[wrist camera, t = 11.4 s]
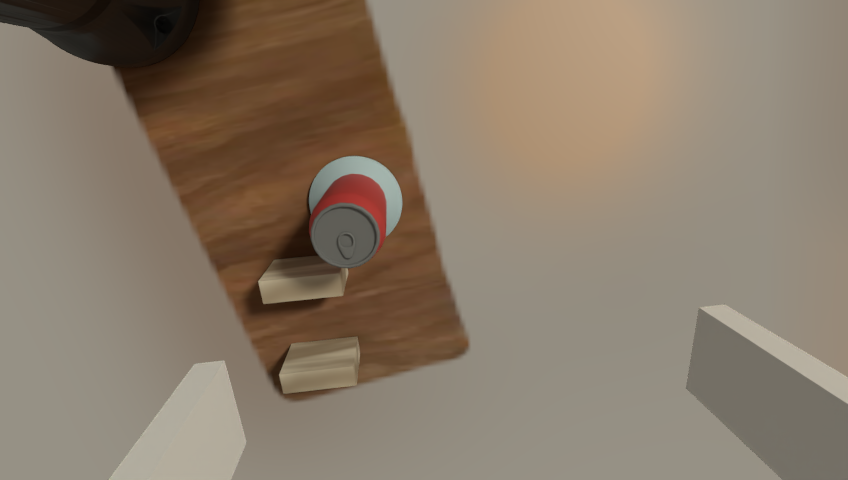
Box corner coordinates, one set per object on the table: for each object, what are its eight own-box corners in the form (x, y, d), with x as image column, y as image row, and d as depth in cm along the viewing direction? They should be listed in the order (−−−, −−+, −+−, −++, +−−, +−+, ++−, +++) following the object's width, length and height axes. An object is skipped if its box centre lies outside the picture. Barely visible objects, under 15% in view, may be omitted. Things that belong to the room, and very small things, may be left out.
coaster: (302, 159, 43) (301, 160, 42) (397, 151, 43) (397, 152, 43) (317, 249, 46) (316, 250, 45) (405, 240, 47) (406, 242, 46)
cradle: (274, 259, 46) (258, 281, 40) (345, 252, 46) (339, 273, 41) (295, 361, 50) (283, 393, 45) (360, 353, 51) (356, 385, 45)
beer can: (329, 234, 45) (310, 278, 34) (321, 175, 43) (297, 200, 31) (389, 229, 45) (390, 270, 34) (383, 170, 43) (382, 193, 32)
